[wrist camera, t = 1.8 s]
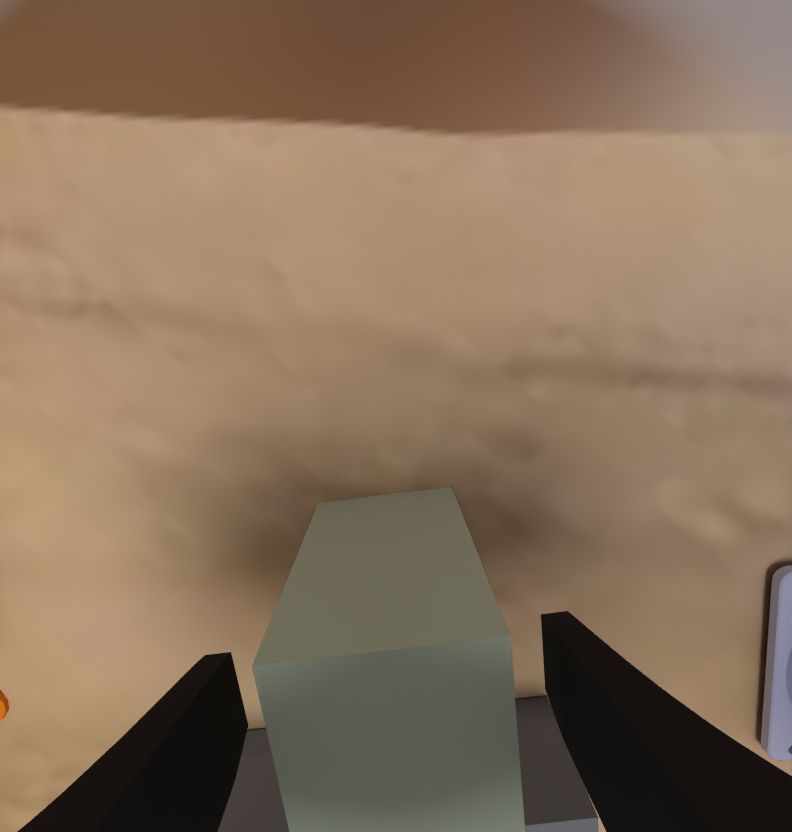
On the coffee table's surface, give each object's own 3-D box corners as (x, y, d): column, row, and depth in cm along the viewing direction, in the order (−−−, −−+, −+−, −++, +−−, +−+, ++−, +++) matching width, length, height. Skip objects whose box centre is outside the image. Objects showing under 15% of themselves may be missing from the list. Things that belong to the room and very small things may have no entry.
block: (451, 486, 14) (510, 635, 7) (463, 604, 15) (525, 835, 8) (318, 502, 14) (252, 666, 7) (338, 619, 15) (296, 861, 8)
